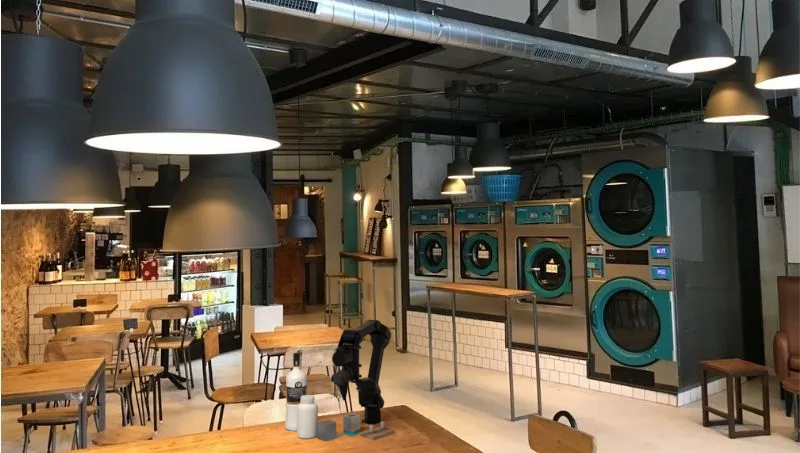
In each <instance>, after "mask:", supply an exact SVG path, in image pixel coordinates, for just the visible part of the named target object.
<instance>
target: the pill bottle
mask: <svg viewBox="0 0 800 453" xmlns="http://www.w3.org/2000/svg"><path fill="white" fill-rule="evenodd" d="M315 398H316V397H315V395H312V394H307V395H303V396H301V401H300V402H301V403H300V404H299V405H298V406H297V431H296V436H297V438H299V439H312V438H316V437H317V423H318V420H319V413H318V412H319V411H318V410H319V407H318V404H317V403H316V402H315Z"/></svg>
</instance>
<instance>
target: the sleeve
mask: <svg viewBox="0 0 800 453" xmlns="http://www.w3.org/2000/svg"><path fill="white" fill-rule="evenodd" d="M342 416H343V418H342V422H343V426H342V427H343V428H342V429H343V434H342V435H346V436H348V437H353V436H357V435H360V432H361V415H360V414H357V413H353V412H351V413H348V414H345V415H342Z"/></svg>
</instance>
